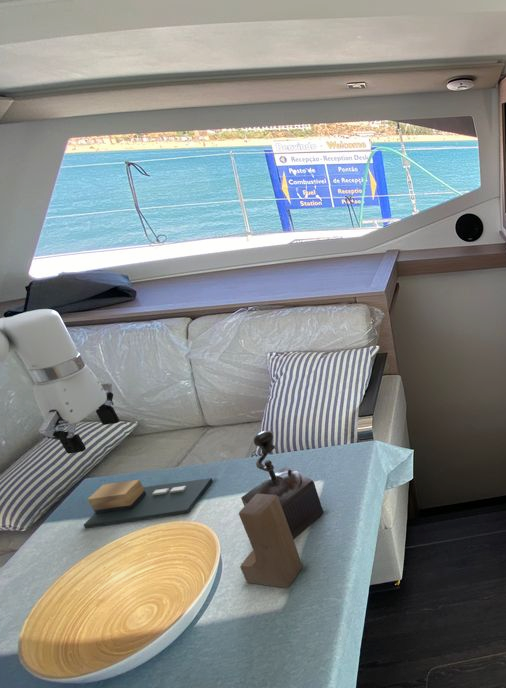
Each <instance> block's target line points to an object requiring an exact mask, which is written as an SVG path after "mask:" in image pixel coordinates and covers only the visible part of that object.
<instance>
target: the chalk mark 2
mask: <svg viewBox="0 0 506 688" xmlns="http://www.w3.org/2000/svg"><path fill="white" fill-rule="evenodd" d="M186 488H187V487H186V486H181V487H174V488H172V489H171V491H170V493H175V492H182V491H184V490H185V489H186Z"/></svg>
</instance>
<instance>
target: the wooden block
mask: <svg viewBox="0 0 506 688" xmlns="http://www.w3.org/2000/svg"><path fill="white" fill-rule="evenodd" d="M238 516H239V518H240V521H241V523H242V526H243V528H244V531H245V533H246V536H247V538H248V541H249V543H250V545H251V548H252V551H251V552H250V553H249V555H247V557H246V558H245V559H244V561H243V562H242V563H241V564H240V566H239V568H240V571H241V573H242V574H243V577H244V579H245V582H246V583H249V584H254V585H255V584H256V585H262V586H270V587H276V588H277V587H278V588H284V589H288V588H289V587H290V586H291V584H292V583H293V581H294V580H295V579H296V577H297V576H298V574H299V573H300V571H301V570H302V568H303V562H302V560H301V557H300V554H299V552H298V548H297V547H296V543H295V540H294V539H293V537H292V534H291V532H290V529H289V526H288V523H287V520H286V517H285V515H284V512H283V509H282V506H281V503H280V501H279V498H278V496H277V495H269V494H256V495H255V496H254V497H253V498H252V499H251V500H250V501H249V502H248V503H247V504H246V505H245V506H244V505H243V508H242V509H241V510H239V512H238Z"/></svg>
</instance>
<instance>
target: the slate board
mask: <svg viewBox="0 0 506 688" xmlns="http://www.w3.org/2000/svg"><path fill="white" fill-rule="evenodd" d="M213 481H214V480H213V478H212V477H208V478H202V479H194V480H186V481H180V482H172V483H164V484H158V485H150V486H143V488H144V491H145V492H146V495H145V496H144V497H143V498H142V499H141V501H140V502H139V503H138V504H137V505H136V506H135V507H134V508H133V509H129V510H122V511H115V512H108V513H101V514H96V513H95V512H94V514H93V515H91V517H90V518H89V519H87V521H86V522H85V523H83V527H84V528H85V529H88V528H92V527H93V528H95V527H101V526H107V525H108V526H109V525H115V524H121V523H122V524H123V523H128V522H136V521H142V520H143V521H144V520H150V519H157V518H164V517H171V516H178V515H185V514H189V513H190V511H191V510H192V509H193V508H194V506H195V505H196V504H197V503H198V501H199V500H200V498H201V497H202V496H203V494H204V493H205V492H206V491H207V490H208V488H209V487H210V485H211V484H212V483H213ZM181 486H186V487H187V488H186V489H185V490H184V491H182V492H175V493H170V491H171V489H172V488H174V487H181ZM167 488H169V491H168V492H167V493H166V494H160V495H153V494H152V493H153V492H154V491H155V490H160V489H167Z"/></svg>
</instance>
